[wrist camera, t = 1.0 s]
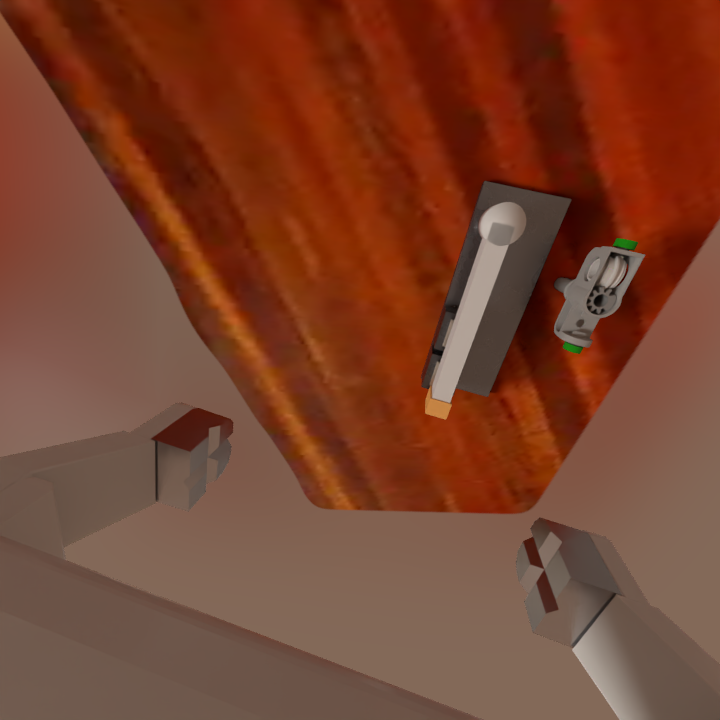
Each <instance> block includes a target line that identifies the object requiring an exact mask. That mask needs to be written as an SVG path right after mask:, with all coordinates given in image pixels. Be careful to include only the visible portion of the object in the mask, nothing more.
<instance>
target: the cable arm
mask: <svg viewBox="0 0 720 720" xmlns="http://www.w3.org/2000/svg"><path fill="white" fill-rule="evenodd" d="M525 226H526V215H525V212H524V210H523V209H522V208H521V207H520V206H519V205H517V204H515V203H512V202H503V203H500V204H497V205H494V206H492V207H490V208H488V209H487V210H486V211H485V212H484V213H483V214H482V216H481V218H480V220H479V225H478V230H479V234H480V236H481V238H482V240H481V243H480V246H479V249H478V252H477V255H476V258H475V261H474V264H473V267H472V270H471V273H470V276H469V279H468V282H467V285H466V288H465V291H464V293H463V296H462V299H461V302H460V305H459V308H458V311H457V314H456V317H455V320H454V323H453V326H452V329H451V332H450V335H449V338H448V341H447V344H446V347H445V350H444V352H443V355H442V358H441V361H440V364H439V367H438V370H437V373H436V376H435V379H434V382H433V385H432V386H431V385H430V388H429V391H428V394H427V397H426V403H425V414H428V415H432V416H435V417H439V418H442V419H446V418H447V416H448V413H449V411H450V408H451V405H452V403H451V399H452V396H453V393H454V391H455V388H456V385H457V383H458V380H459V377H460V375H461V372H462V369H463V367H464V364H465V361H466V359H467V356H468V353H469V350H470V348H471V345H472V342H473V340H474V337H475V334H476V332H477V329H478V326H479V324H480V321H481V318H482V316H483V313H484V310H485V308H486V305H487V302H488V299H489V297H490V294H491V291H492V289H493V286H494V283H495V281H496V278H497V275H498V273H499V270H500V267H501V265H502V262H503V259H504V257H505V254H506V251H507V249H508V246H509V244H511V243H513V242H515V241H516V240H517V239H518V238H519V237H520V236H521V235H522V233H523V232H524V229H525Z"/></svg>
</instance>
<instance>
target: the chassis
mask: <svg viewBox="0 0 720 720" xmlns="http://www.w3.org/2000/svg"><path fill="white" fill-rule="evenodd" d="M571 200H572V199H568V198H563V197H558V196H554V195H549V194H544V193H539V192H535V191H530V190H525V189H520V188H516V187H511V186H506V185H502V184H497V183H492V182H487V181H484V182H483V184H482V187H481V190H480V193H479V196H478V199H477V203H476V206H475V209H474V212H473V215H472V218H471V221H470V225H469V228H468V231H467V234H466V237H465V240H464V243H463V246H462V250H461V253H460V256H459V259H458V262H457V265H456V268H455V272H454V275H453V278H452V281H451V284H450V287H449V290H448V293H447V297H446V300H445V303H444V306H445V305H446V306H450V307H454V308H459V305H460V302H461V299H462V296H463V293H464V291H465V288H466V285H467V282H468V279H469V276H470V273H471V270H472V267H473V264H474V261H475V258H476V255H477V252H478V249H479V246H480V243H481V240H482V238H481V236H480V234H479V230H478V225H479V220H480V218H481V216H482V214H483V213H484V212H485V211H486V210H487V209H488V208H490V207H492V206H494V205H497V204H500V203H503V202H512V203H515V204H517V205H519V206H520V207H521V208H522V209H523V210H524V212H525V215H526V226H525V229H524V232H523V233H522V235H521V236H520V237H519V238H518V239H517V240H516V241H515V242H513V243H511V244H509V246H508V249H507V251H506V254H505V257H504V259H503V262H502V265H501V267H500V270H499V273H498V275H497V278H496V281H495V283H494V286H493V289H492V291H491V294H490V297H489V299H488V302H487V305H486V308H485V310H484V313H483V316H482V318H481V322H480V325H479V328H478V330H477V333H476V336H475V339H474V341H473V344H472V347H471V349H470V352H469V355H468V357H467V359H466V361H465V365H464V368H463V371H462V373H461V376H460V379H459V381H458V384H457V387H456V388H458V389H461V390H465V391H468V392H472V393H476V394H479V395H483V396H487V397H488V395H489V393H490V391H491V388H492V386H493V384H494V381H495V379H496V377H497V374H498V372H499V370H500V367H501V365H502V362H503V360H504V358H505V355H506V353H507V351H508V348H509V346H510V344H511V341H512V339H513V336H514V334H515V332H516V329H517V327H518V325H519V322H520V320H521V318H522V315H523V313H524V310H525V308H526V306H527V303H528V301H529V299H530V296H531V294H532V292H533V289H534V287H535V285H536V282H537V280H538V277H539V275H540V273H541V270H542V268H543V266H544V263H545V261H546V259H547V256H548V254H549V251H550V249H551V247H552V244H553V242H554V240H555V237H556V235H557V233H558V230H559V228H560V226H561V223H562V221H563V218H564V216H565V214H566V211H567V209H568V207H569V204H570V202H571ZM444 306H443V309H444ZM443 309H442V312H443ZM442 312H441V315H442ZM441 315H440V319H441ZM440 319H439V322H440ZM439 322H438V325H439ZM438 325H437V328H438ZM437 328H436V331H437ZM436 331H435V334H436ZM435 334H434V337H435ZM434 337H433V340H432V344H431V347H432V345H434ZM431 347H430V350H431ZM430 350H429V353H430ZM429 353H428V356H429ZM428 356H427V359H428ZM427 359H426V362H427ZM426 362H425V365H426ZM424 369H425V366H424ZM424 369H423V372H424ZM423 372H422V375H423ZM422 375H421V379H422Z"/></svg>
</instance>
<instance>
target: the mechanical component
mask: <svg viewBox="0 0 720 720" xmlns="http://www.w3.org/2000/svg"><path fill="white" fill-rule="evenodd" d="M637 244H638V242H635V241H631V240H626V239H619V238H616V240H615V243H614V245H613V246H614V247H617V248H613V247H605V246H602V247H601V248H598V247H596V248H594V249H592V250H591V251H590V253H589V254H588V255H587V257H586V259H585V261H584V263H583V265H582V267H581V269H580V271H579V274H578V276H577V278H576V279H574V280H571V279H568V278H558V279H557V280H556V281H555V283H554V287H555V289H557V290H558V291H560V292H562V293H564V297H565V299H566V301H565V303H564V305H563V307H562V310H561V312H560V314H559V316H558V318H557V320H556V323H555V326H554V332H555V334H556V335H557V336H558V337H559V338H561V339H562V340H564V341H565V343H564V345H563V348H564V349H566V350H568V351H570V352H573V353H578V354H580V353H581V351H582V349H583V347H590V345H591V343H592V340H591V339H590V336H591V334H592V332H593V330H594V328H595V326H596V324H597V322H598V320H599V319H600V318H603V317H607V316H609V315H611V314H613V313H614V312H615V311H616V310H617V309H618V308H619V306H620V304H621V301H622V297H623V295H624V293H625V291H626V290H627V288H628V286H629V284H630V282H631V280H632V278H633V277H634V275H635V273H636V271H637V269H638V267H639V266H640V264H641V262H642V260H643V258H644V256H645V255H644V254H640V253H636V252H631V251H629V250H635V248H636V246H637ZM627 264H628V273H627V275H626V277H625V279H624V281H623V282H622V283H621V284H620V285H619V286H618V287H616V288H614V287H615V286H616V285H618V283H619V282H620V281H621V280H622V278H623V277H624V275H625V272H626V266H627Z"/></svg>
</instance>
